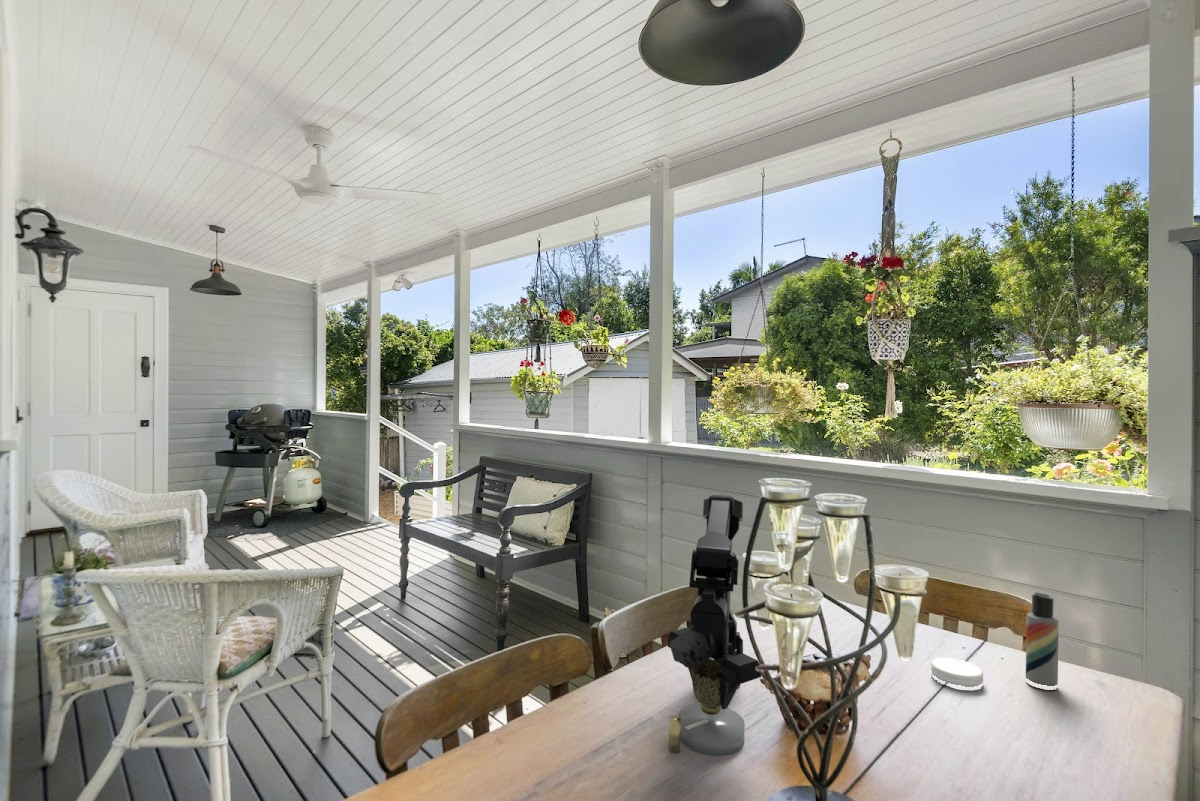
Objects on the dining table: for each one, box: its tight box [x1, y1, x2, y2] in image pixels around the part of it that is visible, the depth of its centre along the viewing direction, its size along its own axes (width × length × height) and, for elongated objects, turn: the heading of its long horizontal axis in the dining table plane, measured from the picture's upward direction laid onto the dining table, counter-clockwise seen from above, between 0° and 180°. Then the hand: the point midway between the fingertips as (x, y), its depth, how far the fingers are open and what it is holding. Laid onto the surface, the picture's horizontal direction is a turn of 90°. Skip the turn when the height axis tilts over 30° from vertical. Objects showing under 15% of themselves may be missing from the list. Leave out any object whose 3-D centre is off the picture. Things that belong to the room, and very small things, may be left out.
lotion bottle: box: [1025, 592, 1060, 686], centre depth 132 cm, size 6×6×20 cm
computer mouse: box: [676, 702, 746, 757], centre depth 109 cm, size 12×12×3 cm
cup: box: [691, 659, 722, 715], centre depth 109 cm, size 8×7×8 cm
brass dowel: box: [668, 715, 681, 755], centre depth 104 cm, size 2×2×6 cm
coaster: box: [930, 657, 984, 687], centre depth 134 cm, size 10×10×4 cm
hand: (711, 700), depth 109 cm, fingers closed on cup, 6 cm apart
